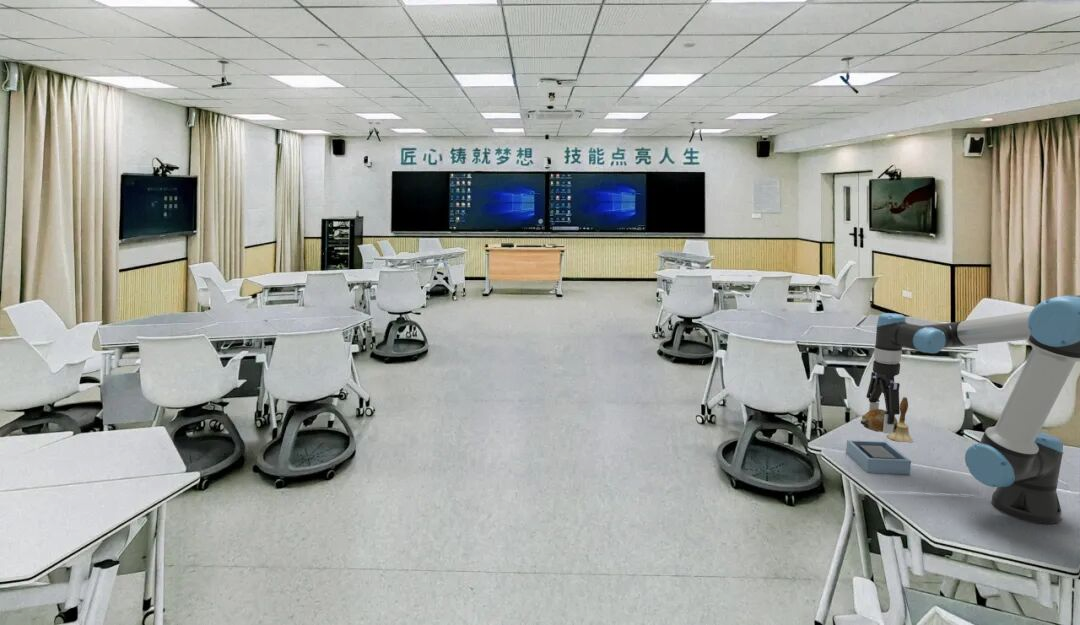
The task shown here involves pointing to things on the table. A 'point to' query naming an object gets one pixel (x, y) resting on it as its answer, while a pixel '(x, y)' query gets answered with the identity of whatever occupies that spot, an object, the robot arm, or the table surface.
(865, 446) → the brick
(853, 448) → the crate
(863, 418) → the bread roll
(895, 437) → the hand bell
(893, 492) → the table surface
